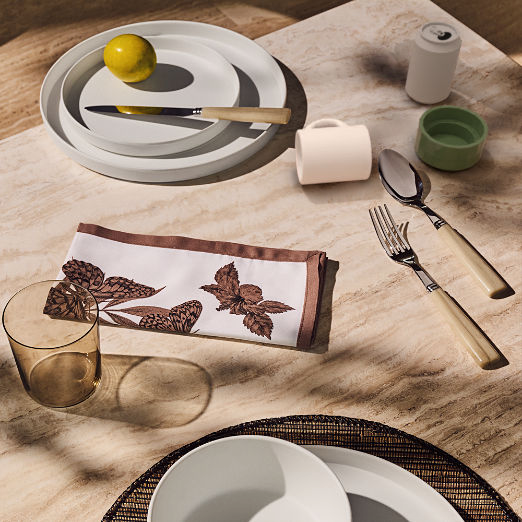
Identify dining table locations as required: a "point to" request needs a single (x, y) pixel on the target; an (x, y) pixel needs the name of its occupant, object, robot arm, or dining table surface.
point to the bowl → (450, 137)
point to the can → (433, 62)
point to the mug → (332, 152)
